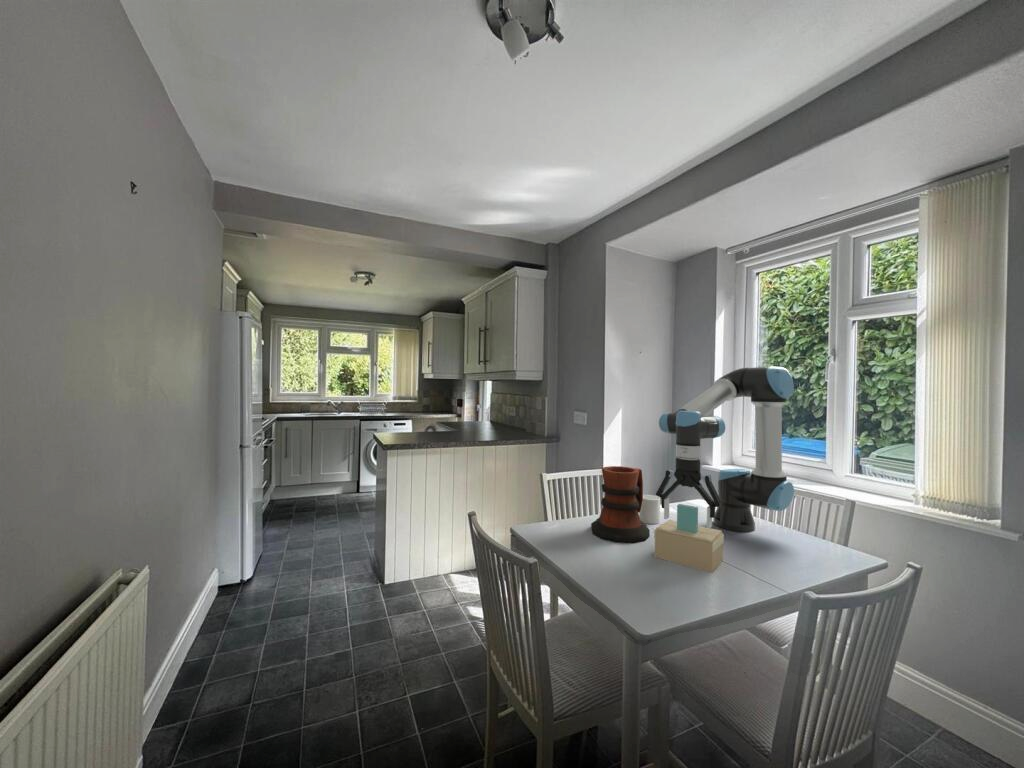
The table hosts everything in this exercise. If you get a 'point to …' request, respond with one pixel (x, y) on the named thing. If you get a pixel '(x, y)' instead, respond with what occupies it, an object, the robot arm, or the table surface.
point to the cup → (650, 509)
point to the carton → (690, 548)
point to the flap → (687, 524)
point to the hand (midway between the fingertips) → (687, 522)
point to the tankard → (621, 506)
